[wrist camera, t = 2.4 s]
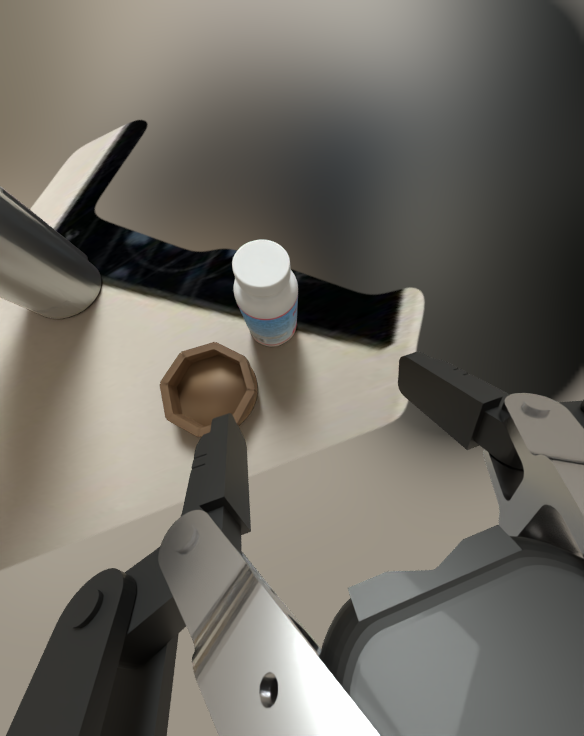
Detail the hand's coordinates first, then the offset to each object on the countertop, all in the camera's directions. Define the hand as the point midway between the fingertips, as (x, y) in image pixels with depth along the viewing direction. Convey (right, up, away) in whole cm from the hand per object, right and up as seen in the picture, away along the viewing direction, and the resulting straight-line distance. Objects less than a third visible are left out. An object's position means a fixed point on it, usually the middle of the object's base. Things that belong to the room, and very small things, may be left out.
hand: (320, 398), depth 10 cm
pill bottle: (-4, +7, +18) cm, 20 cm away
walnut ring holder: (-10, -1, +16) cm, 19 cm away
